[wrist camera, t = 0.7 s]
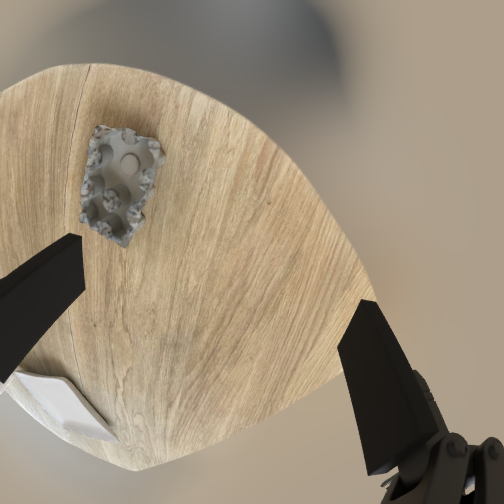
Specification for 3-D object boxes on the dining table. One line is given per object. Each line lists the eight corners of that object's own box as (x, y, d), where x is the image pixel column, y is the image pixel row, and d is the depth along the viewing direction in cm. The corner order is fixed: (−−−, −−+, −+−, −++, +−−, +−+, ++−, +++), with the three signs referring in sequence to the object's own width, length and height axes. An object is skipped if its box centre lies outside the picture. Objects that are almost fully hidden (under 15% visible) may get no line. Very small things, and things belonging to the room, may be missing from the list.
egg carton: (117, 119, 23) (95, 118, 19) (178, 146, 24) (163, 148, 20) (86, 211, 27) (65, 222, 23) (140, 240, 28) (123, 256, 24)
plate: (18, 362, 41) (11, 371, 38) (70, 368, 38) (62, 381, 35) (67, 420, 49) (63, 430, 46) (126, 433, 46) (122, 444, 43)
